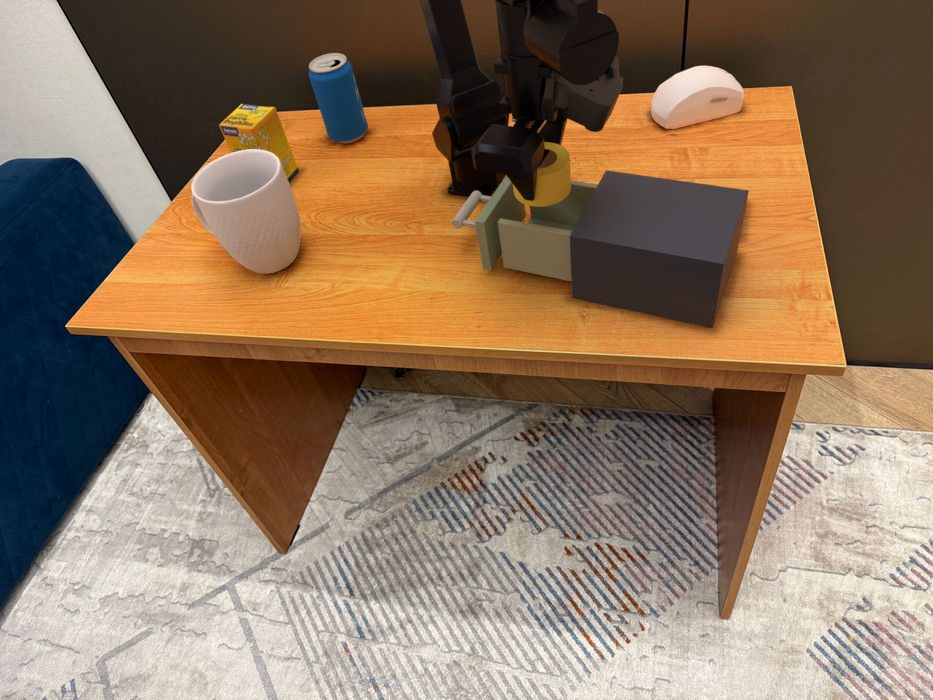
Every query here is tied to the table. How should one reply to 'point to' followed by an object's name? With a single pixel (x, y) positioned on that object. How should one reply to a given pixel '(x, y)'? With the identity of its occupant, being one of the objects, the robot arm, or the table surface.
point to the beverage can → (338, 97)
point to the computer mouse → (696, 97)
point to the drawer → (526, 230)
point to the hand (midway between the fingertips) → (540, 181)
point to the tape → (551, 178)
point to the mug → (249, 209)
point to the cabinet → (657, 246)
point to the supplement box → (259, 134)
